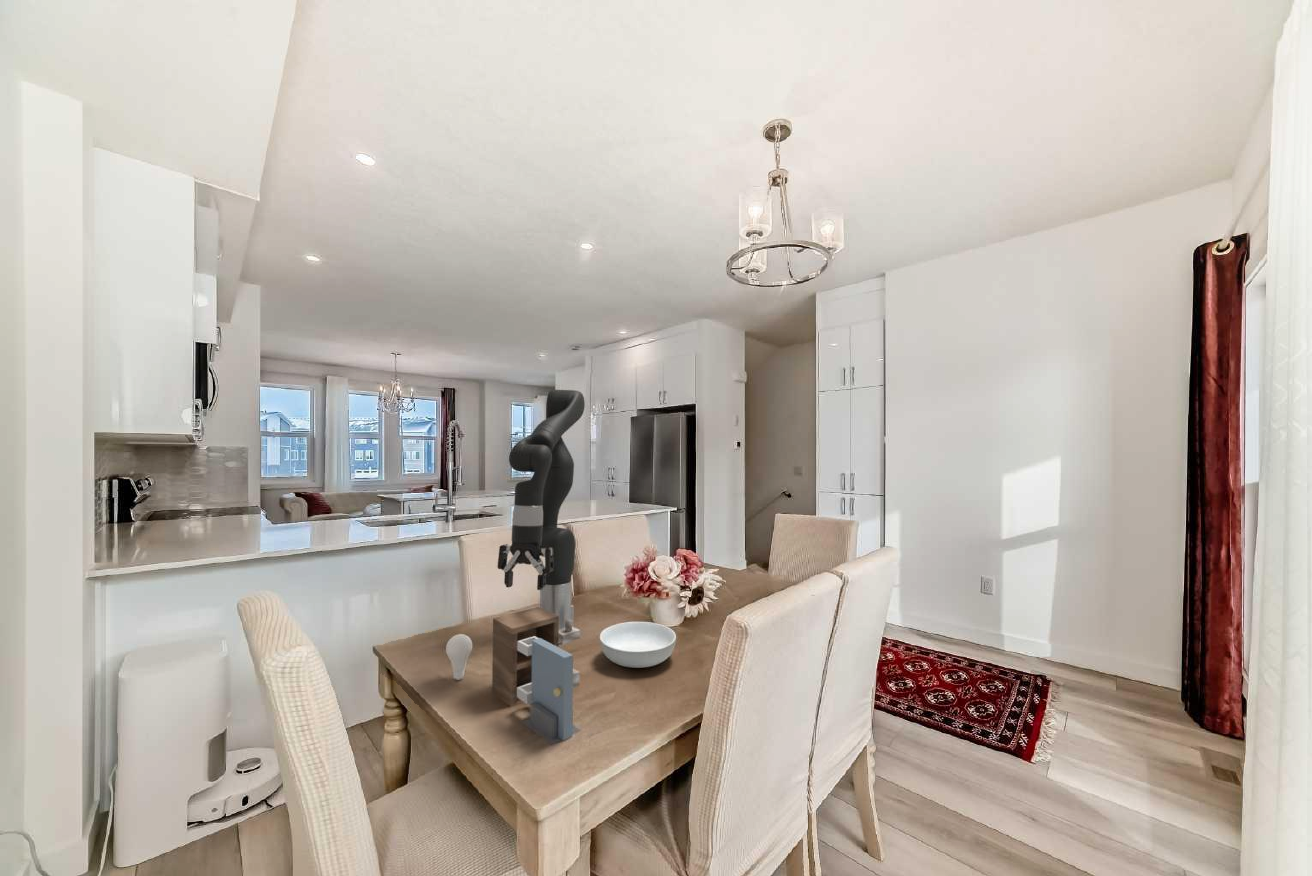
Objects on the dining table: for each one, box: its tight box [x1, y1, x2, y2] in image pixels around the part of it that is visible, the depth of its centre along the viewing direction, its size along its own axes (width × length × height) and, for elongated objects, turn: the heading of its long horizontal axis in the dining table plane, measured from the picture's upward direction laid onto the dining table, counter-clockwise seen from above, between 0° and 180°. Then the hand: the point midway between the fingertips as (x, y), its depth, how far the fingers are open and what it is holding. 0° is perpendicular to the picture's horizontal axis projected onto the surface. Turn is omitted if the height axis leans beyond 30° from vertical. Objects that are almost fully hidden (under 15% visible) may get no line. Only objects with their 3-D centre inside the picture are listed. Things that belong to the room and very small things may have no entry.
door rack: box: [521, 702, 582, 746], centre depth 104 cm, size 7×11×5 cm, turn 45°
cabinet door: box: [517, 636, 574, 741], centre depth 106 cm, size 4×16×16 cm, turn 45°
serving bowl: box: [599, 621, 677, 669], centre depth 139 cm, size 21×21×7 cm
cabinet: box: [491, 606, 581, 707], centre depth 120 cm, size 17×11×18 cm, turn 135°
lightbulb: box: [445, 633, 473, 681], centre depth 126 cm, size 6×6×11 cm
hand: (524, 588), depth 128 cm, fingers open, 8 cm apart
